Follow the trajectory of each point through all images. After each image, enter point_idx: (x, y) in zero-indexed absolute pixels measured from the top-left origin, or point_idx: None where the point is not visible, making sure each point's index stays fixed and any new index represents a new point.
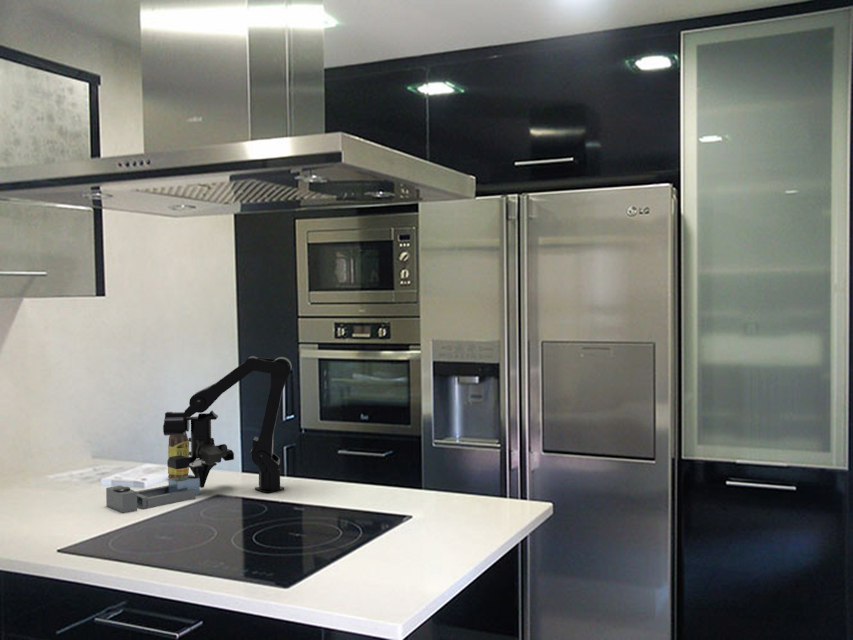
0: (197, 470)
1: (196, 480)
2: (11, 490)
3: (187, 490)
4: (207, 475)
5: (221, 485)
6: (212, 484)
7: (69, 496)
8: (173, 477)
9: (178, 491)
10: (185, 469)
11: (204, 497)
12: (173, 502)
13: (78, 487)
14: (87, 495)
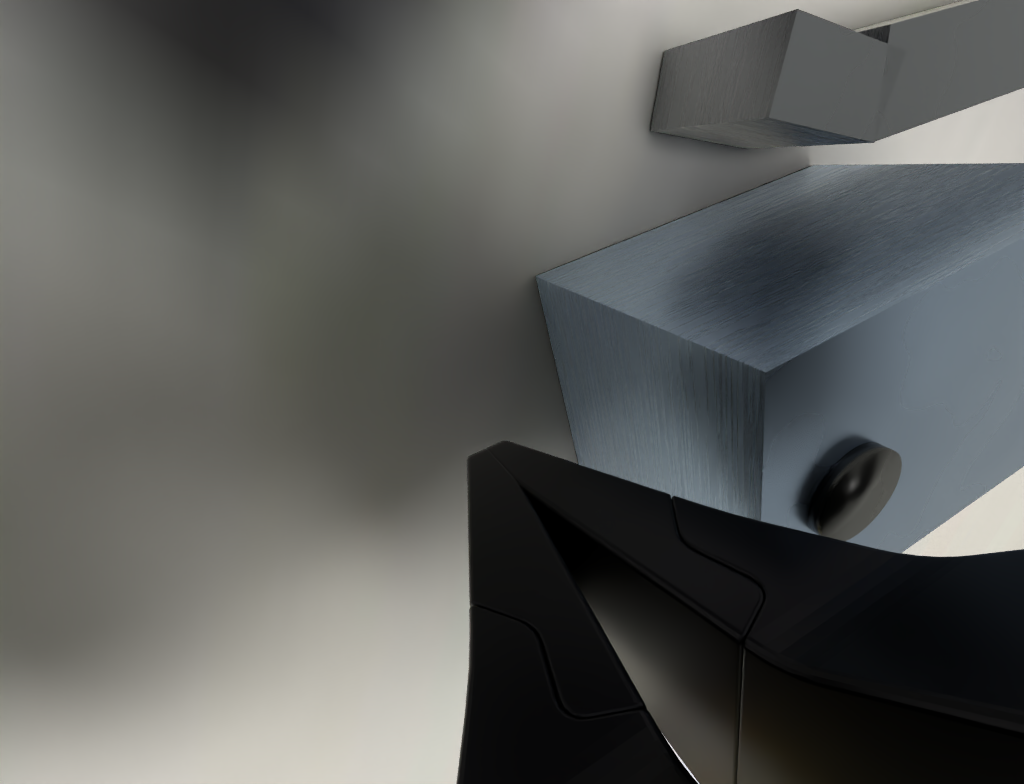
0: (1018, 560)
1: (786, 315)
2: None
3: (879, 74)
4: (483, 621)
5: (106, 732)
6: (255, 765)
7: (1016, 535)
8: None
9: (967, 100)
10: None
11: (516, 48)
12: (915, 13)
13: None
14: (984, 537)
